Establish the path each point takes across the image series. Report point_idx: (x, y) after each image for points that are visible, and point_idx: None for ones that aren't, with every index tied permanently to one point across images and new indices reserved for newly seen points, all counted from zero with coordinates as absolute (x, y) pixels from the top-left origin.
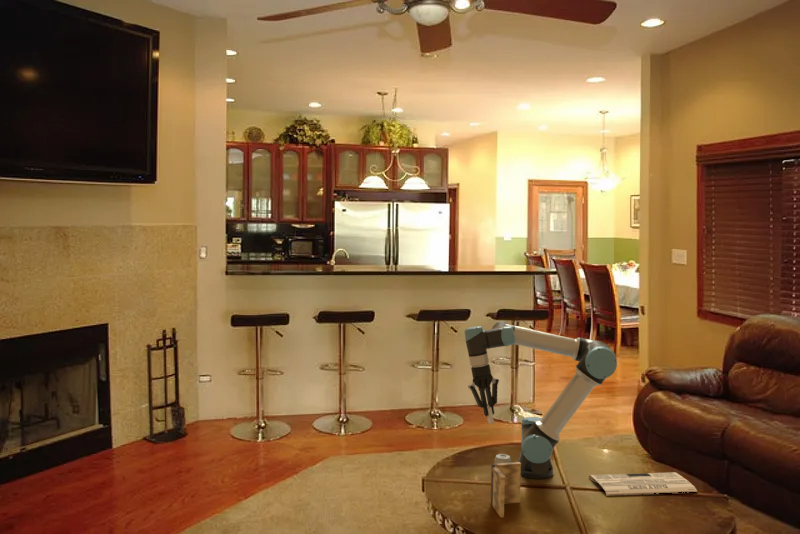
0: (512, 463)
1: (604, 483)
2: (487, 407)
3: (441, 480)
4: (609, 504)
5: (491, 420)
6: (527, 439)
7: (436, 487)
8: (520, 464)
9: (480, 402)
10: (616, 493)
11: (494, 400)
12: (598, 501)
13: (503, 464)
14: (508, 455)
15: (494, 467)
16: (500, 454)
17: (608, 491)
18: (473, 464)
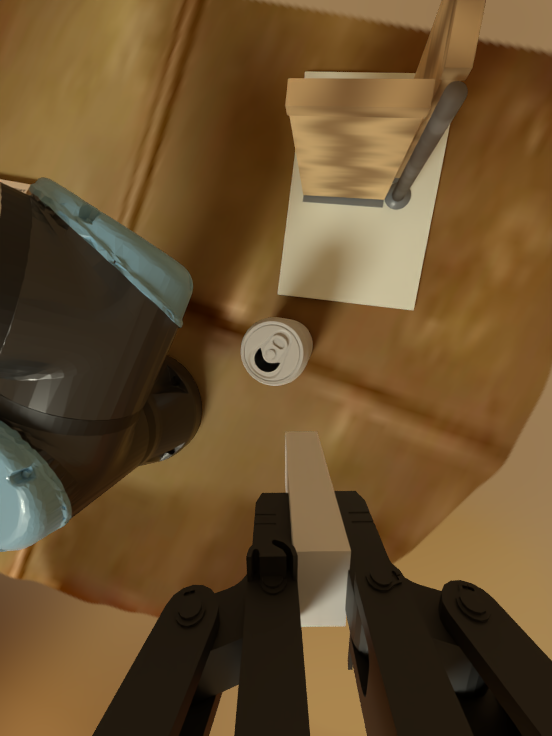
0: (335, 88)
1: None
2: (339, 578)
3: (464, 441)
4: (53, 132)
5: (309, 446)
6: (137, 245)
7: (510, 394)
8: (292, 82)
9: (542, 695)
10: (4, 180)
11: (197, 655)
12: (72, 159)
13: (394, 83)
14: (243, 356)
15: (462, 64)
16: (271, 379)
17: (18, 189)
18: None
